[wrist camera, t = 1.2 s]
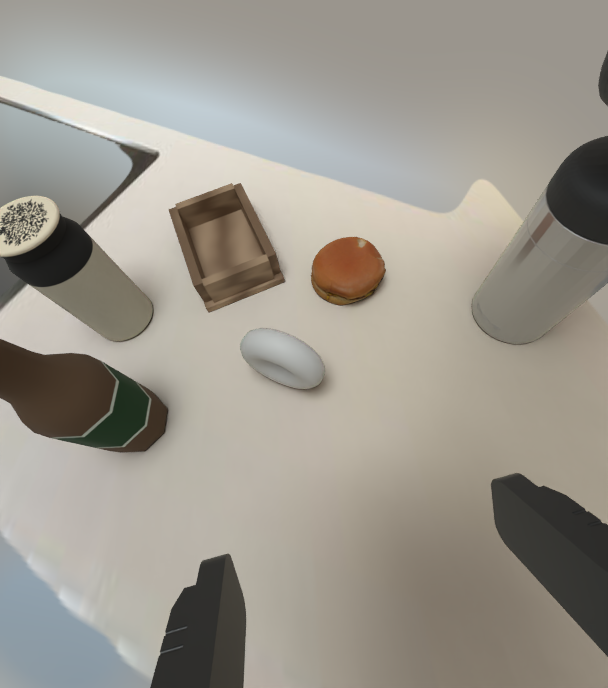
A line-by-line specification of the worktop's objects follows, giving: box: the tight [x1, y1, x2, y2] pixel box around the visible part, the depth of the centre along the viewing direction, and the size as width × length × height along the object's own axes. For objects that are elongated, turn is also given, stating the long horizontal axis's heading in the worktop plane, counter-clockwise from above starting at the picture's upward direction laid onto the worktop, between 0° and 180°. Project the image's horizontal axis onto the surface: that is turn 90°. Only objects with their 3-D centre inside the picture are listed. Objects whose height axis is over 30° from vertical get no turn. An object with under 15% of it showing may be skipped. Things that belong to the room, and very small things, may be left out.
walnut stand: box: [169, 183, 285, 312], centre depth 49 cm, size 12×17×5 cm
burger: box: [311, 237, 386, 305], centre depth 45 cm, size 10×9×5 cm
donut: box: [240, 328, 325, 389], centre depth 37 cm, size 10×4×10 cm, turn 67°
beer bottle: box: [0, 339, 168, 452], centre depth 30 cm, size 8×8×24 cm
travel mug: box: [0, 196, 153, 341], centre depth 40 cm, size 8×8×18 cm
